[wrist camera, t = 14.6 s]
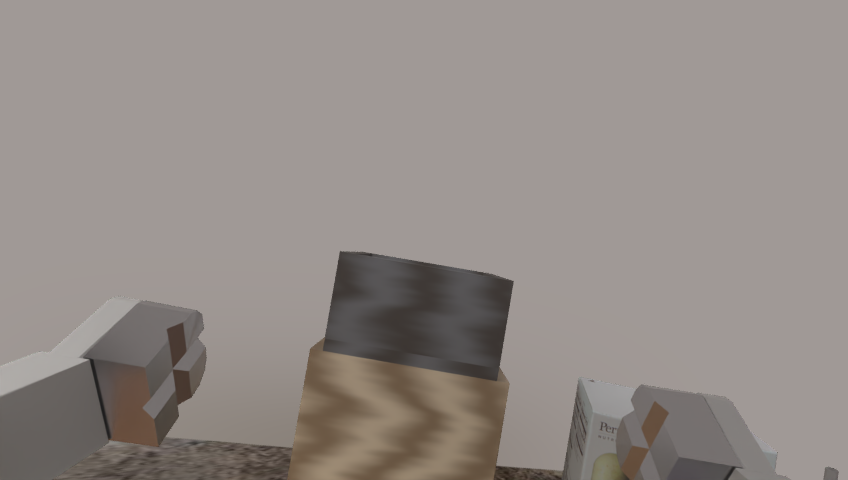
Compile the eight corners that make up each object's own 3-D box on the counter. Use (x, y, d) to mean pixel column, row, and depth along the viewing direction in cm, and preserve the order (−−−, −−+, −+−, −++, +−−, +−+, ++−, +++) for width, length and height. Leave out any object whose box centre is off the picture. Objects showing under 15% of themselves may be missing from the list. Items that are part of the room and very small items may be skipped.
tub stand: (270, 575, 39) (327, 249, 40) (312, 491, 53) (354, 250, 54) (471, 612, 39) (526, 283, 40) (460, 518, 53) (501, 275, 54)
